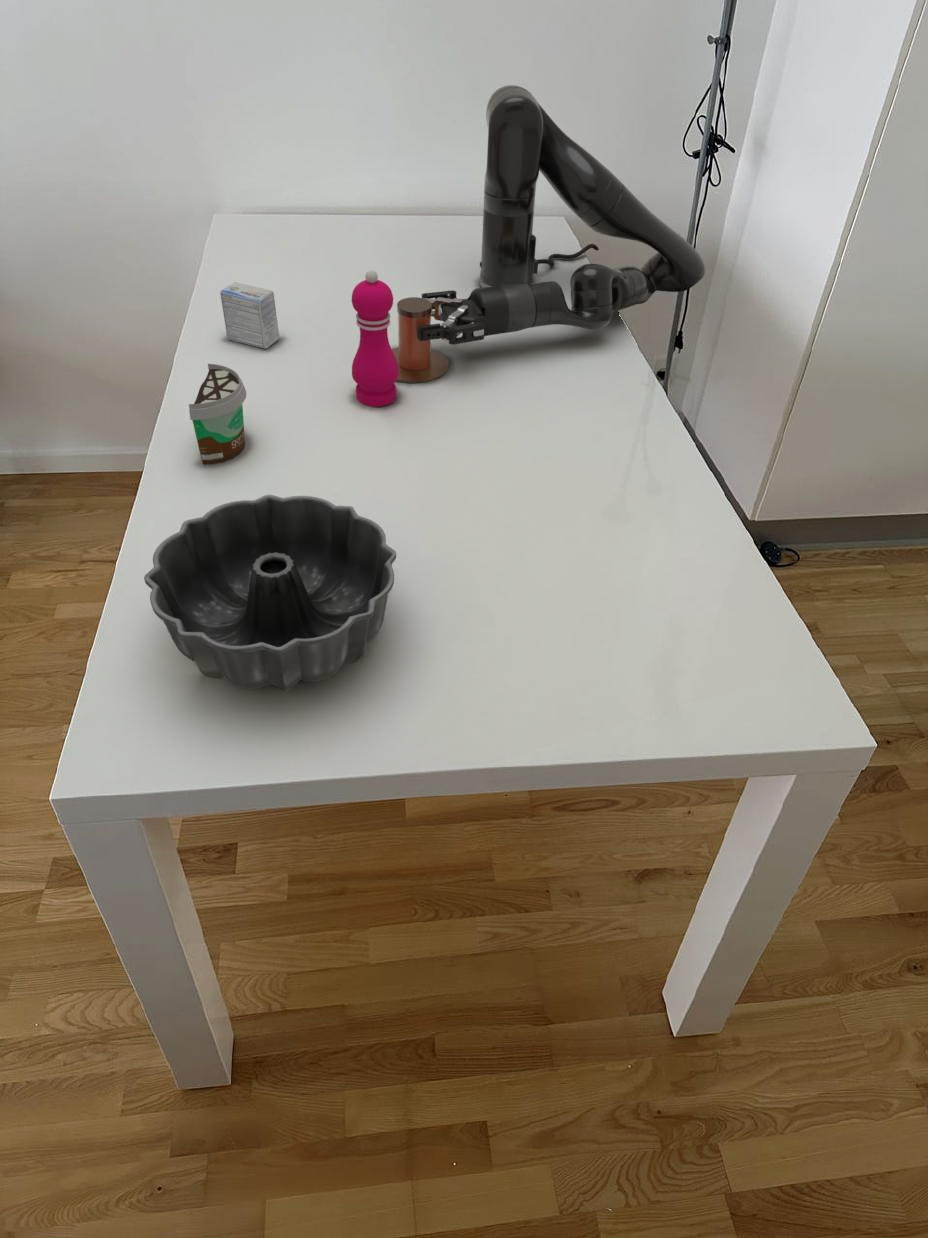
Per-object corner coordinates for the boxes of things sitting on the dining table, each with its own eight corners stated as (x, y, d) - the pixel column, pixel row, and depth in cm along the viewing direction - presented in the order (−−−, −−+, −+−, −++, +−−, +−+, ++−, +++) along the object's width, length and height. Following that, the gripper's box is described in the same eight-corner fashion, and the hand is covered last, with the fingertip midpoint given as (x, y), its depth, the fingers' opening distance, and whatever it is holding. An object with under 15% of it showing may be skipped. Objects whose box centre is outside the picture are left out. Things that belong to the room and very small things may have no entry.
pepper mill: (406, 390, 146) (404, 265, 132) (388, 412, 141) (385, 284, 127) (364, 382, 148) (358, 257, 134) (345, 403, 143) (337, 276, 129)
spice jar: (424, 352, 155) (425, 295, 148) (436, 367, 151) (436, 309, 144) (393, 357, 153) (392, 299, 146) (404, 373, 150) (403, 313, 143)
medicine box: (280, 339, 158) (274, 290, 152) (265, 350, 155) (259, 300, 149) (241, 329, 160) (234, 280, 154) (226, 340, 157) (218, 290, 151)
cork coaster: (434, 343, 158) (434, 341, 158) (459, 376, 150) (459, 374, 150) (367, 354, 155) (366, 351, 154) (389, 387, 147) (389, 385, 146)
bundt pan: (219, 543, 116) (206, 477, 110) (422, 575, 113) (422, 509, 106) (120, 694, 97) (97, 625, 91) (360, 738, 94) (355, 670, 87)
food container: (244, 471, 128) (234, 407, 121) (200, 470, 128) (187, 406, 121) (260, 425, 137) (252, 363, 130) (219, 423, 137) (208, 361, 130)
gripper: (517, 349, 150) (423, 364, 145) (485, 313, 159) (395, 325, 155) (521, 305, 145) (423, 318, 140) (487, 270, 154) (394, 281, 150)
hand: (408, 322), depth 147 cm, fingers open, 8 cm apart
